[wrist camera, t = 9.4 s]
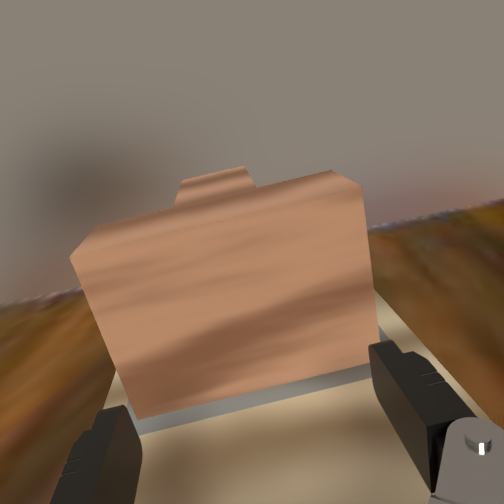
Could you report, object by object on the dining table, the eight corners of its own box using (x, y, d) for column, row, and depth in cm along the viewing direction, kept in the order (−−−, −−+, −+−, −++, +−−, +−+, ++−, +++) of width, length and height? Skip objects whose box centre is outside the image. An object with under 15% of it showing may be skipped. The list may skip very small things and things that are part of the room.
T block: (382, 359, 22) (361, 186, 19) (137, 420, 22) (69, 256, 19) (318, 265, 36) (298, 152, 32) (163, 302, 35) (126, 193, 32)
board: (645, 614, 11) (649, 597, 11) (-10, 787, 11) (-24, 774, 11) (338, 255, 39) (337, 247, 38) (144, 302, 38) (142, 294, 38)
